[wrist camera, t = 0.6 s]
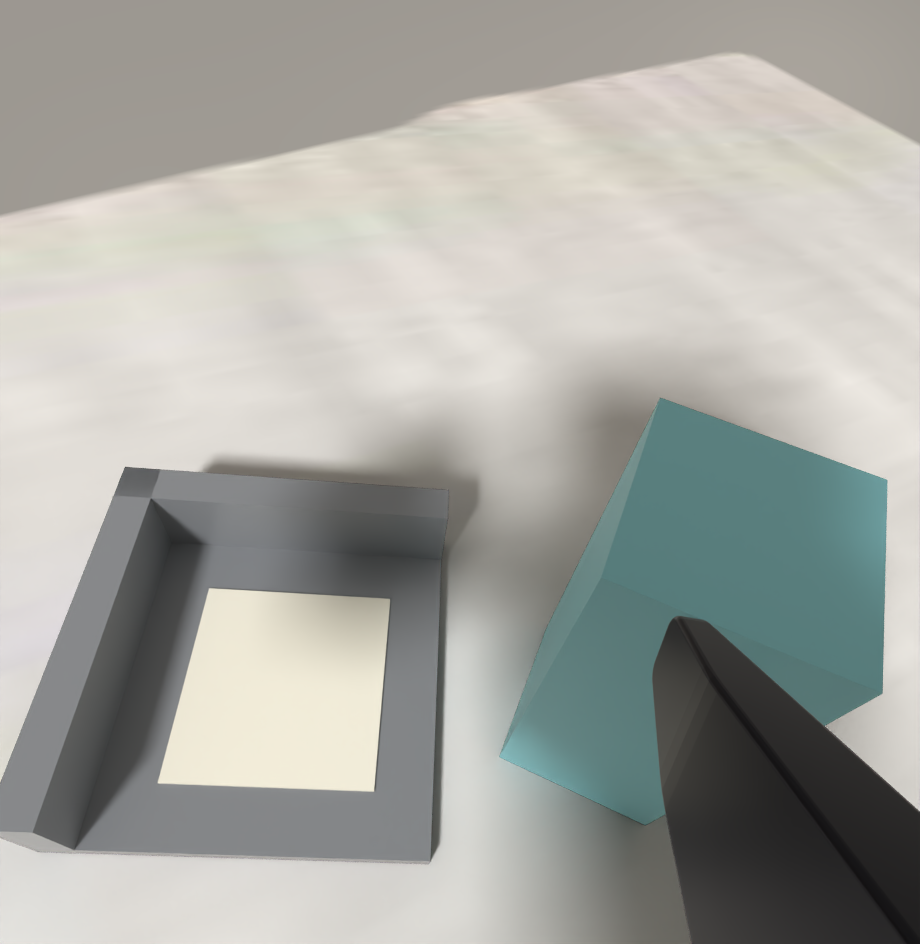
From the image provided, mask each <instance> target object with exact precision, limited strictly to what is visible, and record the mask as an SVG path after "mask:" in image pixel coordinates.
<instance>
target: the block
mask: <svg viewBox="0 0 920 944" xmlns="http://www.w3.org/2000/svg"><path fill="white" fill-rule="evenodd" d="M886 517H887V480H886V479H883V478H880V477H878V476H875V475H872V474H869V473H867V472H864V471H861V470H858V469H856V468H853V467H850V466H847V465H845V464H842V463H839V462H836V461H834V460H831V459H828V458H825V457H823V456H820V455H817V454H814V453H812V452H809V451H806V450H803V449H800V448H798V447H795V446H792V445H789V444H787V443H784V442H781V441H778V440H776V439H773V438H770V437H767V436H765V435H762V434H759V433H756V432H754V431H751V430H748V429H745V428H743V427H740V426H737V425H734V424H732V423H729V422H726V421H723V420H721V419H718V418H715V417H712V416H709V415H707V414H704V413H701V412H698V411H696V410H693V409H690V408H687V407H685V406H682V405H679V404H676V403H674V402H671V401H668V400H665V399H663V398H660V399H659V401H658V403H657V405H656V407H655V409H654V411H653V413H652V415H651V417H650V419H649V421H648V423H647V425H646V427H645V429H644V431H643V433H642V436H641V438H640V440H639V442H638V444H637V446H636V448H635V450H634V452H633V454H632V456H631V458H630V460H629V462H628V464H627V466H626V468H625V470H624V472H623V474H622V476H621V478H620V480H619V482H618V484H617V486H616V488H615V490H614V492H613V494H612V496H611V498H610V500H609V502H608V504H607V506H606V508H605V510H604V512H603V515H602V517H601V519H600V521H599V523H598V525H597V527H596V529H595V531H594V533H593V535H592V537H591V539H590V541H589V543H588V545H587V547H586V549H585V551H584V553H583V555H582V557H581V559H580V561H579V563H578V565H577V567H576V569H575V571H574V573H573V575H572V577H571V579H570V581H569V583H568V585H567V587H566V589H565V591H564V594H563V596H562V598H561V600H560V602H559V604H558V606H557V608H556V610H555V612H554V614H553V616H552V618H551V620H550V622H549V624H548V626H547V628H546V631H545V634H544V636H543V639H542V642H541V644H540V647H539V650H538V653H537V655H536V658H535V661H534V663H533V666H532V669H531V672H530V674H529V677H528V680H527V683H526V685H525V688H524V691H523V693H522V696H521V699H520V702H519V704H518V707H517V710H516V713H515V715H514V718H513V721H512V723H511V726H510V729H509V732H508V734H507V737H506V740H505V742H504V745H503V748H502V751H501V753H500V756H499V757H501V758H503V759H505V760H507V761H509V762H511V763H513V764H515V765H518V766H520V767H522V768H524V769H526V770H528V771H530V772H533V773H535V774H537V775H539V776H541V777H543V778H545V779H547V780H550V781H552V782H554V783H556V784H558V785H560V786H562V787H565V788H567V789H569V790H571V791H573V792H575V793H577V794H580V795H582V796H584V797H586V798H588V799H590V800H592V801H594V802H597V803H599V804H601V805H603V806H605V807H607V808H609V809H612V810H614V811H616V812H618V813H620V814H622V815H624V816H626V817H629V818H631V819H633V820H635V821H637V822H639V823H641V824H644V825H647V824H649V823H651V822H652V821H654V820H656V819H658V818H660V817H661V816H663V815H665V814H666V813H665V808H664V802H663V796H662V790H661V781H660V771H659V759H658V747H657V734H656V722H655V710H654V698H653V686H652V673H653V667H654V663H655V660H656V657H657V654H658V652H659V649H660V646H661V644H662V641H663V638H664V636H665V633H666V630H667V628H668V625H669V623H670V621H671V620H672V619H673V618H674V617H676V616H685V617H691V618H697V619H703V620H705V621H707V622H709V623H710V624H711V625H712V626H713V627H715V628H716V629H717V630H718V631H719V632H720V633H721V634H722V635H723V636H725V637H726V638H727V639H728V640H729V641H730V642H731V643H732V644H733V645H735V646H736V647H737V648H738V649H739V650H740V651H741V652H742V653H744V654H745V655H746V656H747V657H748V658H749V659H750V660H751V661H752V662H754V663H755V664H756V665H757V666H758V667H759V668H760V669H761V670H762V671H764V672H765V673H766V674H767V675H768V676H769V677H770V678H771V679H773V680H774V681H775V682H776V683H777V684H778V685H779V686H780V687H781V688H783V689H784V690H785V691H786V692H787V693H788V694H789V695H790V696H791V697H793V698H794V699H795V700H796V701H797V702H798V703H799V704H800V705H802V706H803V707H804V708H805V709H806V710H807V711H808V712H809V713H810V714H812V715H813V716H814V717H815V718H816V719H817V720H818V721H819V722H820V723H822V724H823V725H824V726H825V725H827V724H829V723H830V722H832V721H834V720H836V719H838V718H839V717H841V716H843V715H845V714H847V713H848V712H850V711H852V710H854V709H856V708H857V707H859V706H861V705H863V704H865V703H866V702H868V701H870V700H872V699H874V698H875V697H877V696H879V695H881V694H882V691H883V648H884V604H885V561H886Z"/></svg>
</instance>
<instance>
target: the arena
mask: <svg viewBox="0 0 920 944" xmlns="http://www.w3.org/2000/svg"><path fill="white" fill-rule="evenodd" d="M448 501H449V490H443V489H429V488H415V487H401V486H386V485H372V484H358V483H344V482H330V481H316V480H302V479H288V478H273V477H259V476H245V475H231V474H217V473H203V472H189V471H175V470H160V469H146V468H132V467H125V468H124V471H123V473H122V476H121V478H120V481H119V484H118V486H117V489H116V491H115V494H114V496H113V499H112V501H111V504H110V506H109V509H108V511H107V514H106V516H105V519H104V522H103V524H102V527H101V529H100V532H99V534H98V537H97V539H96V542H95V544H94V547H93V549H92V552H91V554H90V557H89V559H88V562H87V565H86V567H85V570H84V572H83V575H82V577H81V580H80V582H79V585H78V587H77V590H76V592H75V595H74V597H73V600H72V603H71V605H70V608H69V610H68V613H67V615H66V618H65V620H64V623H63V625H62V628H61V630H60V633H59V635H58V638H57V641H56V643H55V646H54V648H53V651H52V653H51V656H50V658H49V661H48V663H47V666H46V668H45V671H44V673H43V676H42V679H41V681H40V684H39V686H38V689H37V691H36V694H35V696H34V699H33V701H32V704H31V706H30V709H29V711H28V714H27V717H26V719H25V722H24V724H23V727H22V729H21V732H20V734H19V737H18V739H17V742H16V744H15V747H14V749H13V752H12V754H11V757H10V760H9V762H8V765H7V767H6V770H5V772H4V775H3V777H2V780H1V782H0V838H2V839H4V840H7V841H10V842H13V843H15V844H18V845H21V846H23V847H26V848H29V849H31V850H34V851H37V852H54V853H86V854H119V855H151V856H184V857H216V858H248V859H281V860H313V861H345V862H378V863H410V864H429V863H430V861H431V833H432V805H433V778H434V750H435V722H436V695H437V667H438V639H439V611H440V584H441V559H442V553H443V546H444V540H445V534H446V527H447V521H448Z"/></svg>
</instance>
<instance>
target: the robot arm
mask: <svg viewBox="0 0 920 944" xmlns="http://www.w3.org/2000/svg"><path fill="white" fill-rule="evenodd" d="M652 686H653V698H654V710H655V722H656V734H657V747H658V759H659V771H660V781H661V790H662V796H663V802H664V808H665V813H666V818H667V823H668V829H669V834H670V839H671V844H672V849H673V854H674V859H675V864H676V869H677V874H678V879H679V884H680V889H681V894H682V899H683V904H684V909H685V914H686V919H687V924H688V929H689V934H690V939H691V944H920V811H919V810H918V809H916V808H915V807H914V806H913V805H912V804H911V803H910V802H909V801H907V800H906V799H905V798H904V797H903V796H902V795H901V794H900V793H899V792H897V791H896V790H895V789H894V788H893V787H892V786H891V785H890V784H889V783H887V782H886V781H885V780H884V779H883V778H882V777H881V776H880V775H878V774H877V773H876V772H875V771H874V770H873V769H872V768H871V767H870V766H868V765H867V764H866V763H865V762H864V761H863V760H862V759H861V758H860V757H858V756H857V755H856V754H855V753H854V752H853V751H852V750H851V749H849V748H848V747H847V746H846V745H845V744H844V743H843V742H842V741H841V740H839V739H838V738H837V737H836V736H835V735H834V734H833V733H832V732H831V731H829V730H828V729H827V728H826V727H825V726H824V725H823V724H822V723H820V722H819V721H818V720H817V719H816V718H815V717H814V716H813V715H812V714H810V713H809V712H808V711H807V710H806V709H805V708H804V707H803V706H802V705H800V704H799V703H798V702H797V701H796V700H795V699H794V698H793V697H791V696H790V695H789V694H788V693H787V692H786V691H785V690H784V689H783V688H781V687H780V686H779V685H778V684H777V683H776V682H775V681H774V680H773V679H771V678H770V677H769V676H768V675H767V674H766V673H765V672H764V671H762V670H761V669H760V668H759V667H758V666H757V665H756V664H755V663H754V662H752V661H751V660H750V659H749V658H748V657H747V656H746V655H745V654H744V653H742V652H741V651H740V650H739V649H738V648H737V647H736V646H735V645H733V644H732V643H731V642H730V641H729V640H728V639H727V638H726V637H725V636H723V635H722V634H721V633H720V632H719V631H718V630H717V629H716V628H715V627H713V626H712V625H711V624H710V623H709V622H707V621H705V620H703V619H697V618H691V617H685V616H676V617H674V618H673V619H672V620H671V621H670V623H669V625H668V628H667V630H666V633H665V636H664V638H663V641H662V644H661V646H660V649H659V652H658V654H657V657H656V660H655V663H654V667H653V673H652Z"/></svg>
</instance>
